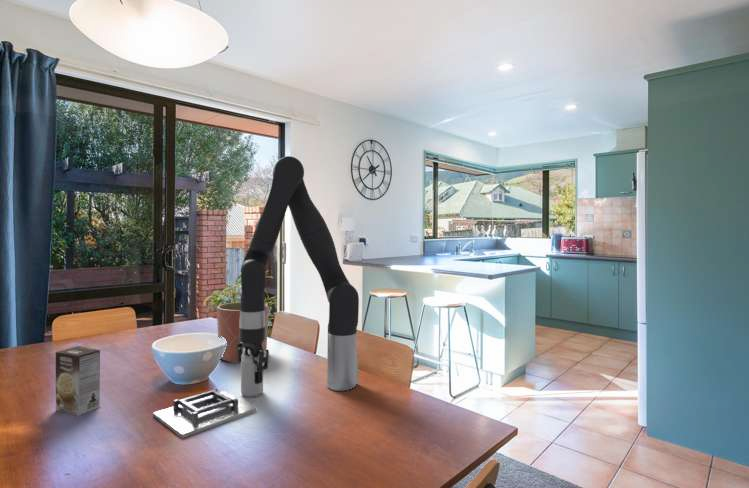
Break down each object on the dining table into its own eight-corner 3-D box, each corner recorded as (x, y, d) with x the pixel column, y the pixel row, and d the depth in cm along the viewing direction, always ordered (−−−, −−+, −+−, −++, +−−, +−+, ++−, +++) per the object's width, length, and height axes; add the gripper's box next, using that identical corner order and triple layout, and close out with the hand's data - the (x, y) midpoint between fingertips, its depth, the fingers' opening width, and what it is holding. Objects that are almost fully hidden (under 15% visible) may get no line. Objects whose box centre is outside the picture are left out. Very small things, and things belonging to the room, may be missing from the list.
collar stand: (224, 394, 123) (224, 381, 123) (256, 411, 112) (256, 397, 112) (153, 416, 108) (153, 402, 108) (182, 438, 97) (182, 422, 97)
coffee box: (54, 411, 111) (53, 351, 110) (78, 401, 117) (77, 345, 116) (78, 416, 108) (77, 355, 107) (101, 406, 114) (101, 349, 113)
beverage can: (256, 398, 121) (257, 358, 120) (236, 396, 122) (237, 356, 122) (266, 390, 127) (267, 352, 126) (247, 388, 128) (247, 350, 128)
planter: (252, 346, 174) (252, 299, 174) (277, 356, 161) (277, 306, 161) (208, 356, 161) (208, 305, 160) (231, 367, 147) (231, 312, 147)
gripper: (277, 327, 122) (276, 383, 122) (250, 319, 131) (249, 371, 132) (254, 331, 116) (254, 390, 117) (228, 323, 126) (228, 377, 126)
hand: (251, 380), depth 124 cm, fingers closed on beverage can, 6 cm apart
